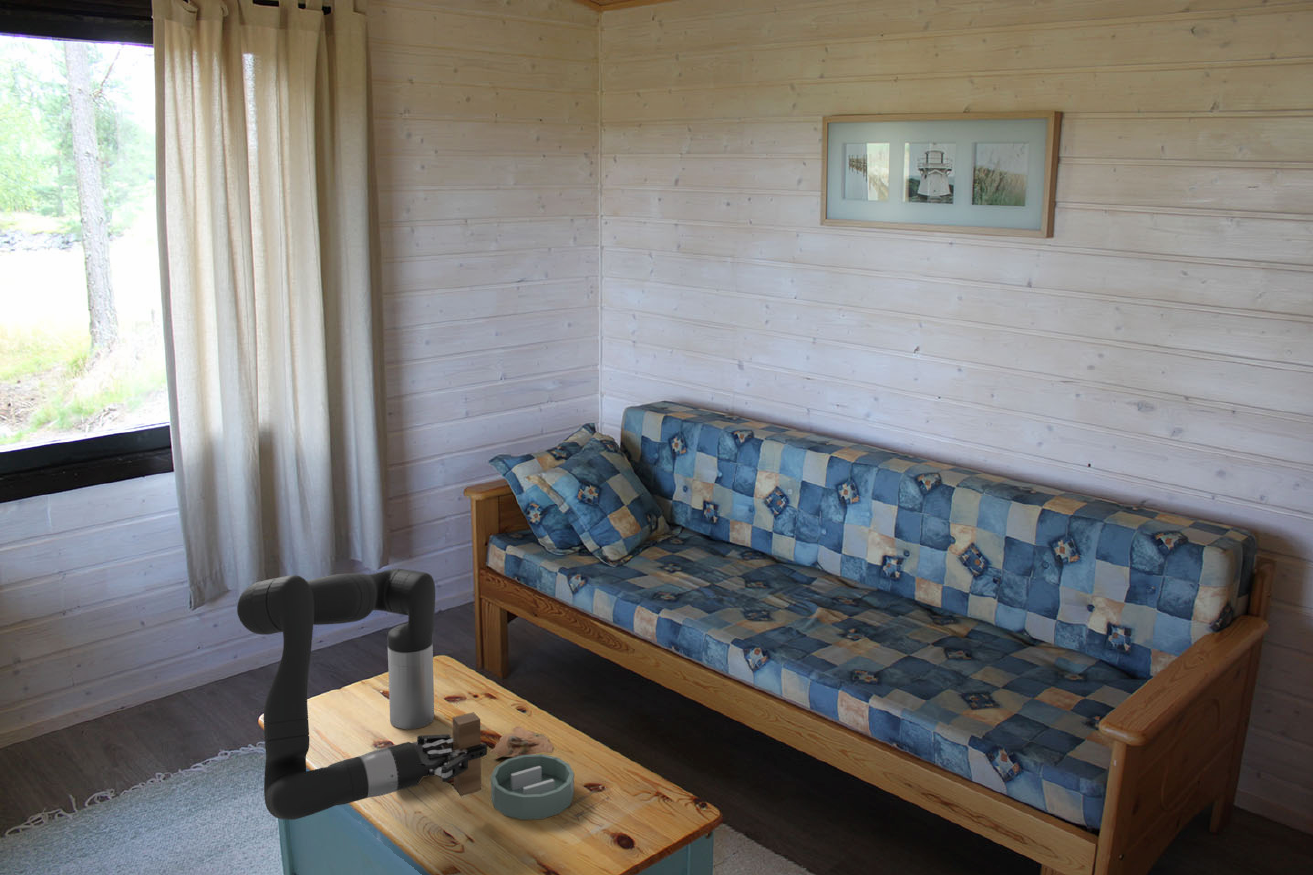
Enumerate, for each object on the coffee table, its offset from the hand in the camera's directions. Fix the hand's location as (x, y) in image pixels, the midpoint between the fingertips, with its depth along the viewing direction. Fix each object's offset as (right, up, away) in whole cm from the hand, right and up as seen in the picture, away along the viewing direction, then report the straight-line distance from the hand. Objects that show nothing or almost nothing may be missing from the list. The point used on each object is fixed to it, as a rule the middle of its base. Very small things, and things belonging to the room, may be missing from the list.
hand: (481, 744), depth 194 cm
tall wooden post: (-3, -8, 0) cm, 9 cm away
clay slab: (+2, -8, +27) cm, 28 cm away
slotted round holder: (+8, -12, +8) cm, 17 cm away
